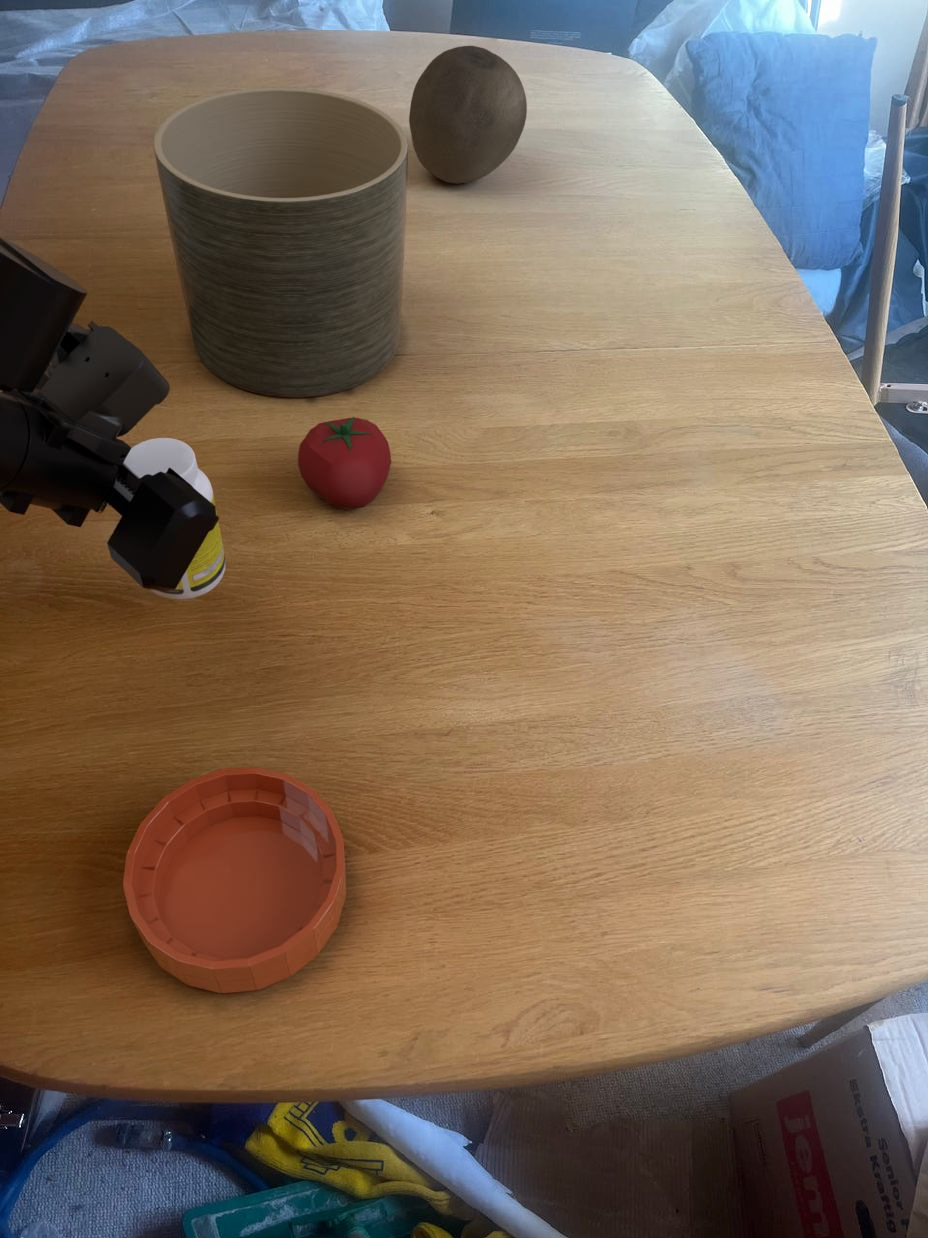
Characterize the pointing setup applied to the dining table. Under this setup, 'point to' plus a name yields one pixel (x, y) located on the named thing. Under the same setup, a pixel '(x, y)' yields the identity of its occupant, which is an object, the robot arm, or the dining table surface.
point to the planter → (287, 235)
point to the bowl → (236, 879)
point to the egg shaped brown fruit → (466, 114)
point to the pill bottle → (182, 460)
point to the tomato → (345, 461)
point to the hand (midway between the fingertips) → (187, 499)
